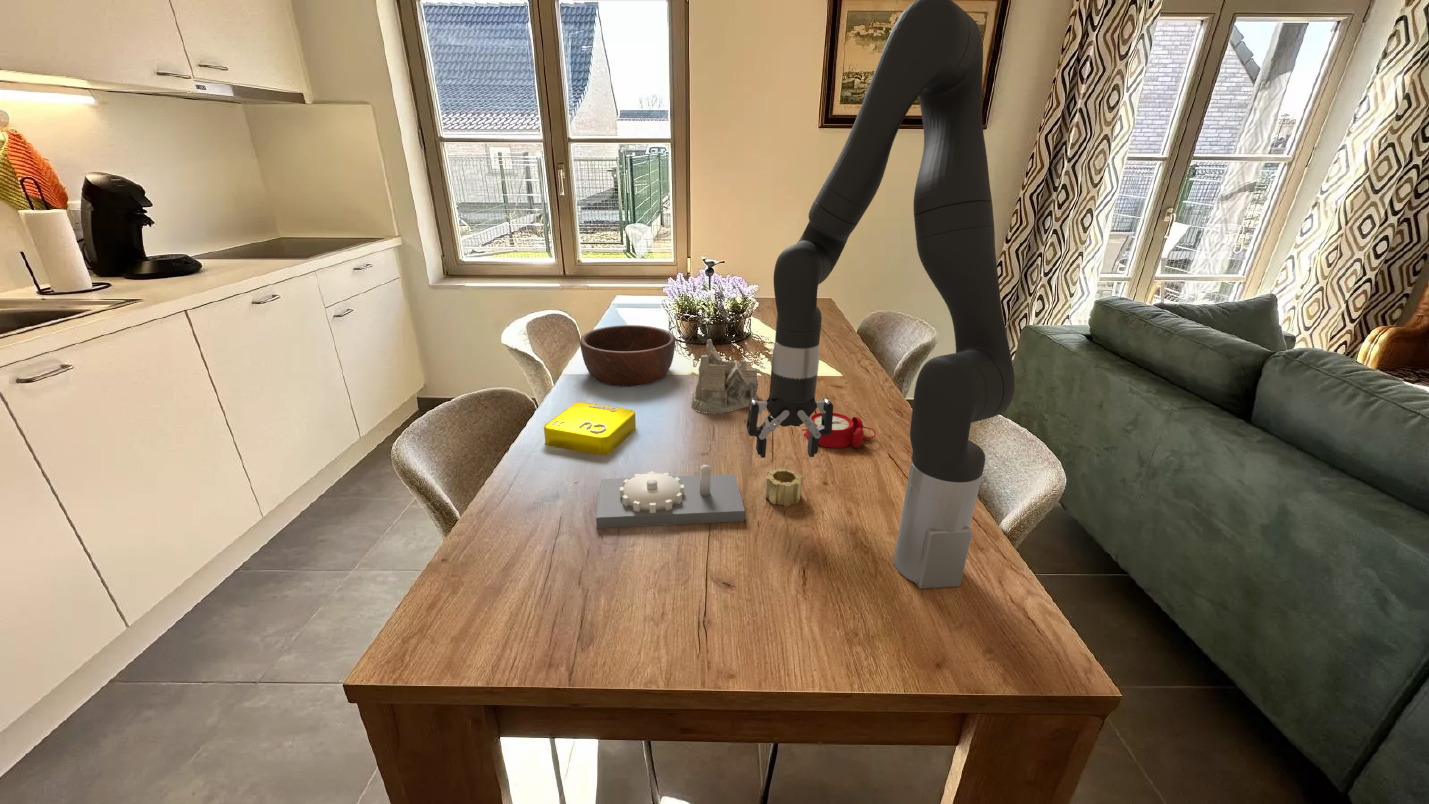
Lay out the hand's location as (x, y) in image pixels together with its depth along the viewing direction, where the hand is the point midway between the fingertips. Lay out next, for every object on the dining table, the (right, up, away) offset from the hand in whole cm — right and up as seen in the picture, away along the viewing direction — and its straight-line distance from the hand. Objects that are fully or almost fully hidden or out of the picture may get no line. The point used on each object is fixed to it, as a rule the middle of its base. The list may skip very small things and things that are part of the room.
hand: (786, 455), depth 103 cm
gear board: (-20, -8, -1) cm, 22 cm away
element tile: (-39, +2, +23) cm, 45 cm away
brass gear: (0, -7, +2) cm, 8 cm away
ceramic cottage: (-10, +9, +42) cm, 44 cm away
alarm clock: (+14, +1, +25) cm, 28 cm away
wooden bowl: (-36, +17, +58) cm, 70 cm away
